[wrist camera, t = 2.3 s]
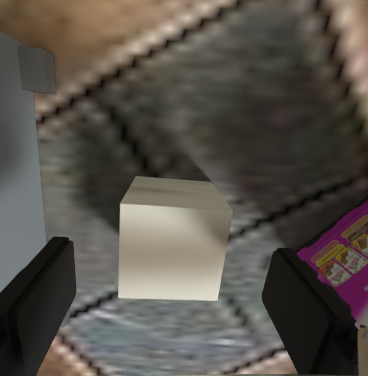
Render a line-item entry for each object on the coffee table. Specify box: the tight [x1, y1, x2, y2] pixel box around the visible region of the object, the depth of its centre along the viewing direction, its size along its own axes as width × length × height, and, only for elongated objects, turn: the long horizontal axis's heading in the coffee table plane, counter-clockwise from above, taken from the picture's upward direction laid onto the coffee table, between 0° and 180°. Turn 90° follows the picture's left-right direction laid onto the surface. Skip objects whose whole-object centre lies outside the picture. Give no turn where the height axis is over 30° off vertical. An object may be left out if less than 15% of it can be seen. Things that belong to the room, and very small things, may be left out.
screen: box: [0, 31, 70, 327], centre depth 14 cm, size 22×5×6 cm, turn 174°
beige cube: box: [118, 176, 233, 301], centre depth 16 cm, size 6×6×6 cm
